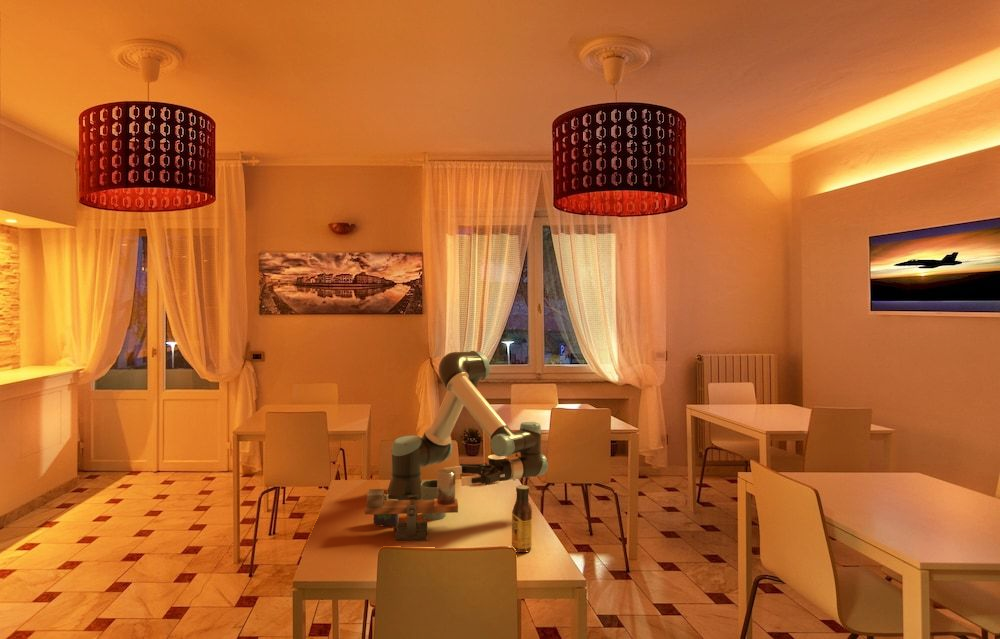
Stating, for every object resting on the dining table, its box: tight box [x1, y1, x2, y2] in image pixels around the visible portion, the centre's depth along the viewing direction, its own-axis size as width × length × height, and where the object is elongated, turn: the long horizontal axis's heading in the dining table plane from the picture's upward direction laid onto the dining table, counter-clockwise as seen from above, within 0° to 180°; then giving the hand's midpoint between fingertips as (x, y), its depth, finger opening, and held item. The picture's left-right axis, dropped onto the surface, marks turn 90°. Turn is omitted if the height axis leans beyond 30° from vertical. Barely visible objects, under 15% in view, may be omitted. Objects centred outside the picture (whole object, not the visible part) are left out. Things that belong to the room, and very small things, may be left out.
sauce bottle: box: [511, 484, 533, 553], centre depth 186 cm, size 6×6×20 cm
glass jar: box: [436, 469, 456, 505], centre depth 201 cm, size 6×6×10 cm
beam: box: [364, 488, 459, 515], centre depth 199 cm, size 30×9×6 cm, turn 96°
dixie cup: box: [487, 454, 507, 484], centre depth 264 cm, size 8×8×11 cm
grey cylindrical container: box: [420, 479, 447, 521], centre depth 217 cm, size 10×10×12 cm
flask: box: [373, 493, 400, 528], centre depth 208 cm, size 9×3×11 cm, turn 74°
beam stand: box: [395, 495, 428, 542], centre depth 199 cm, size 10×14×11 cm
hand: (452, 476), depth 202 cm, fingers open, 13 cm apart
